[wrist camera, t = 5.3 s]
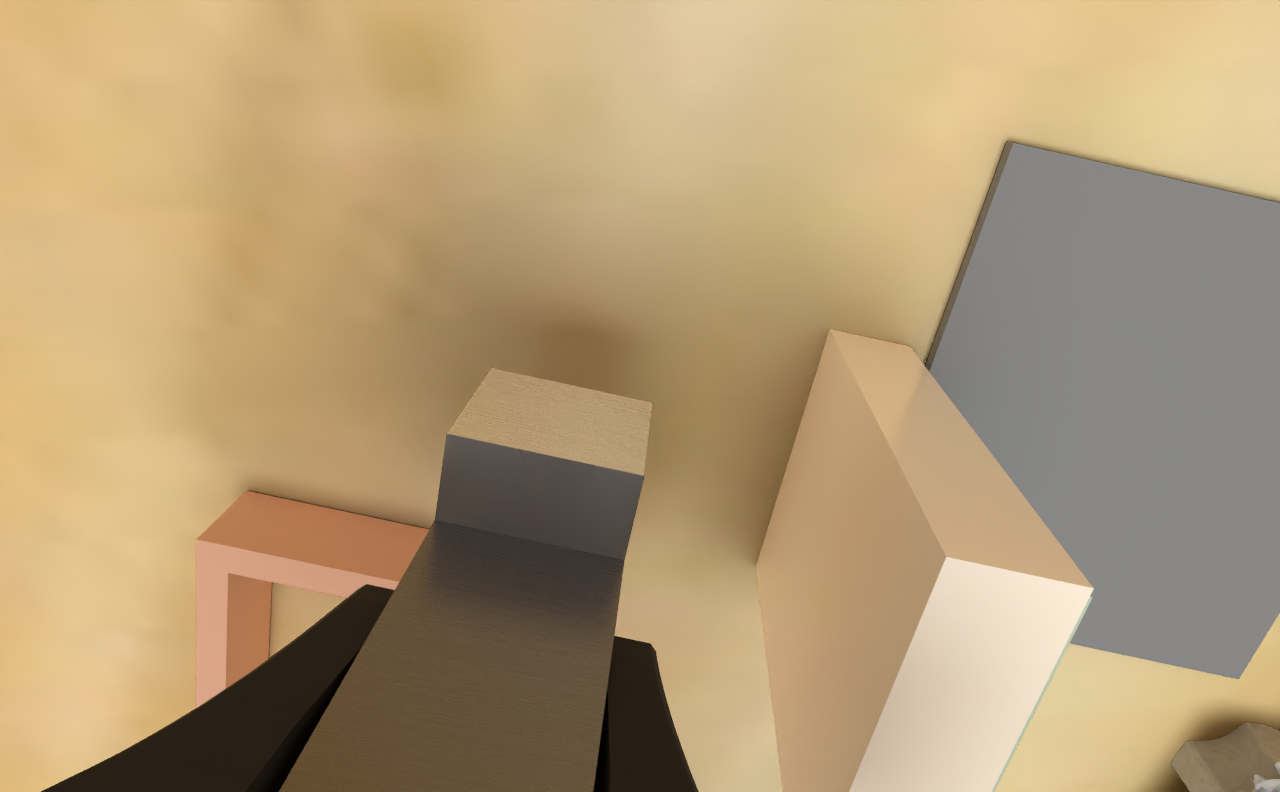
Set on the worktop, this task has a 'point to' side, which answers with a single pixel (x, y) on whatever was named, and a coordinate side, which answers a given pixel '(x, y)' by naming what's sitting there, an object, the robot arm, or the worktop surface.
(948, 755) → the glazed tile
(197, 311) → the worktop surface
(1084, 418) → the mat
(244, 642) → the pusher holder
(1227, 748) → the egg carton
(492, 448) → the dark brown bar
